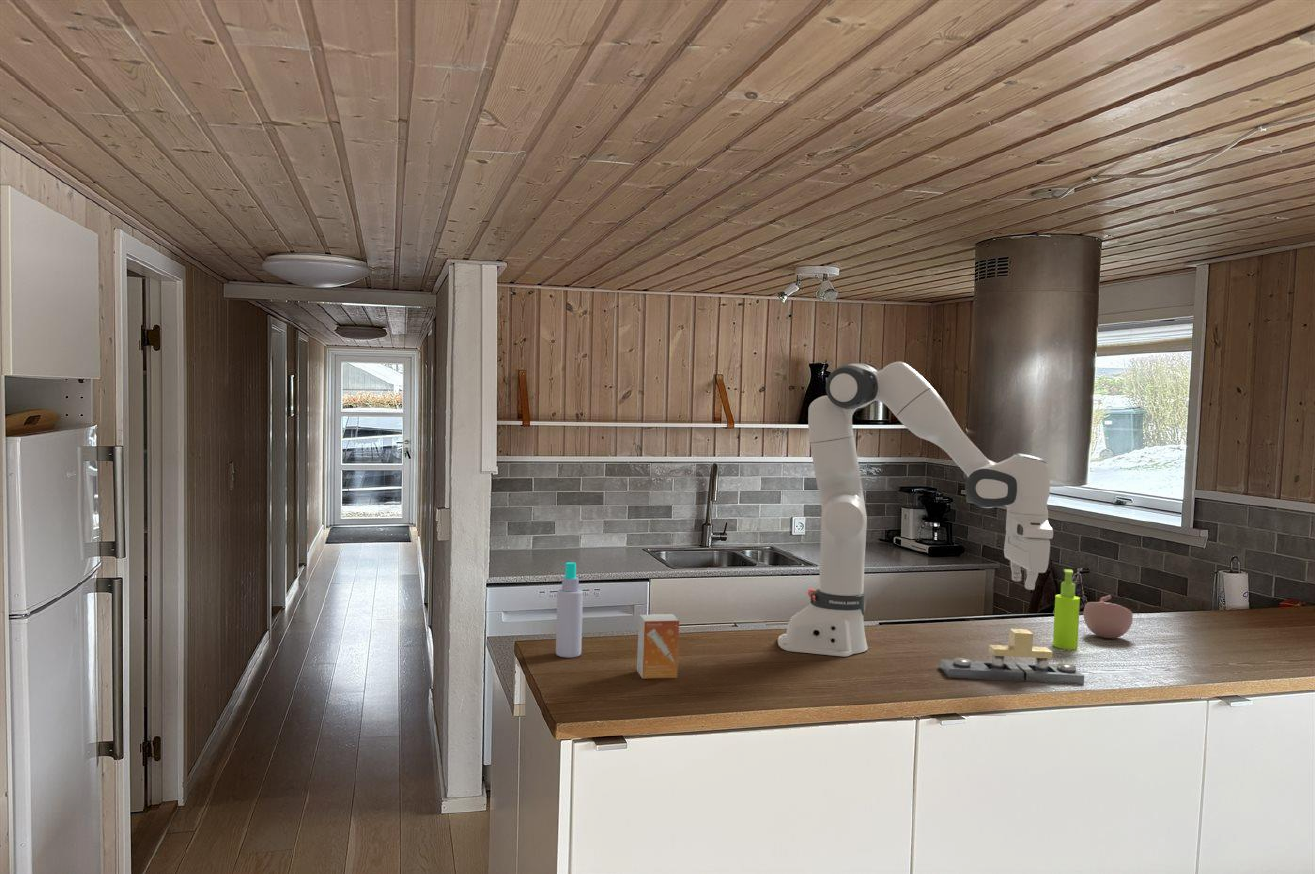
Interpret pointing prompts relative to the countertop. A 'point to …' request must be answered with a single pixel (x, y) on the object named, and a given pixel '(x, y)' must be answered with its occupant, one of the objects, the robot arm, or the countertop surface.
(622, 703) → the countertop surface
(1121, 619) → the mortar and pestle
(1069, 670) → the right chain end
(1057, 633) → the soap dispenser
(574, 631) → the spray bottle
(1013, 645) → the tan bridge piece
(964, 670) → the plate
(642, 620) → the small box
